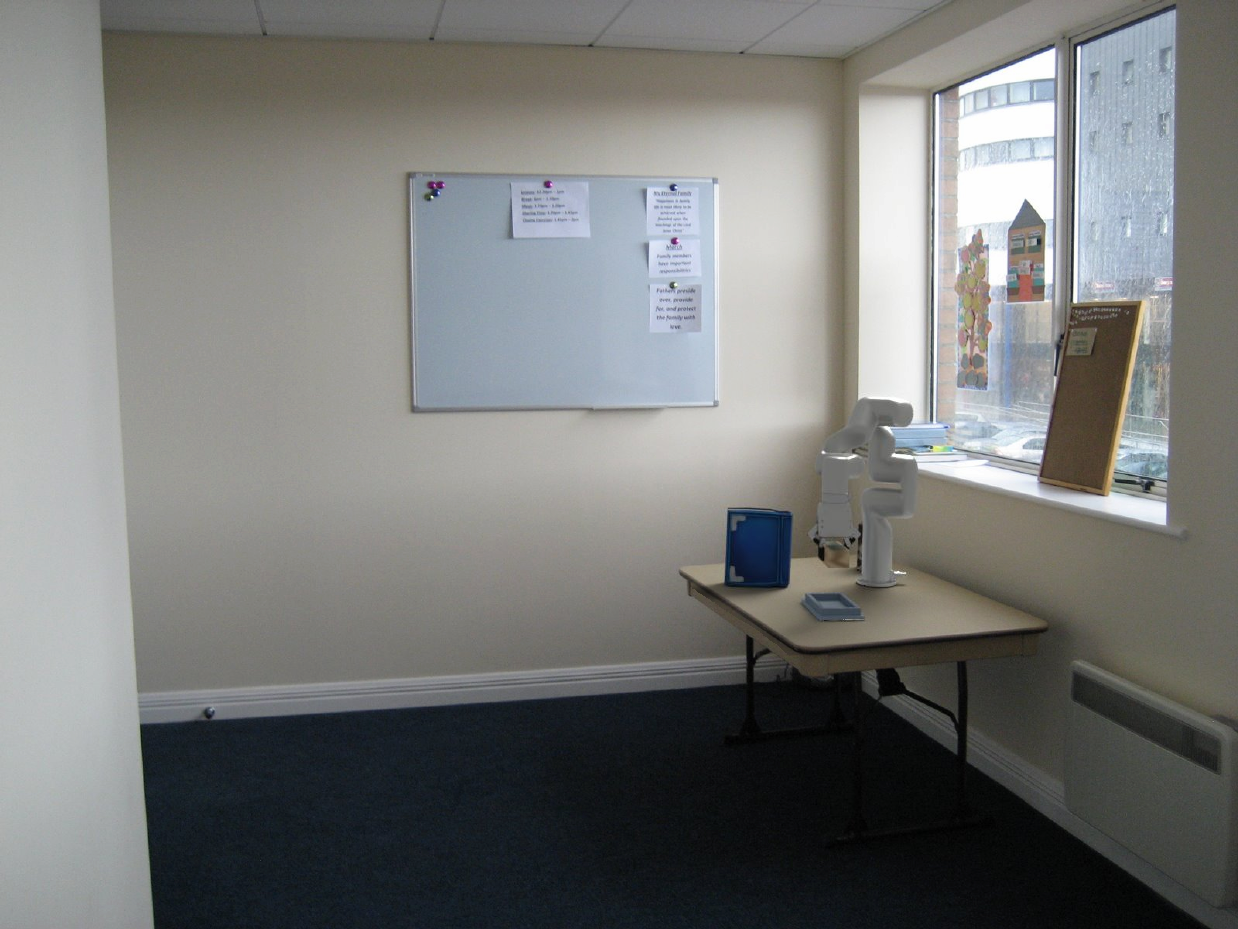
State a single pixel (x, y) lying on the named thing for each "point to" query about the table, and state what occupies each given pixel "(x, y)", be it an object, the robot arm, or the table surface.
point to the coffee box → (860, 546)
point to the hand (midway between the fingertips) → (833, 559)
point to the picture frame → (836, 555)
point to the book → (758, 547)
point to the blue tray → (832, 606)
